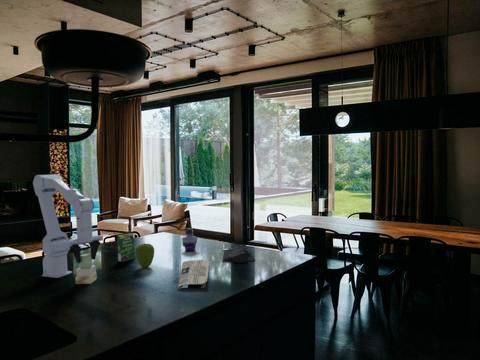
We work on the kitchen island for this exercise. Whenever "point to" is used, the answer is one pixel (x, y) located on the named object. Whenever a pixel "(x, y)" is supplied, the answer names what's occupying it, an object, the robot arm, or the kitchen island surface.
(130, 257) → the coffee box
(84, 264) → the sage cylinder
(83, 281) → the tower base block
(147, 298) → the kitchen island surface
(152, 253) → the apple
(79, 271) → the tower top block
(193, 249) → the potion bottle
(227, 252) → the dark slate chunk
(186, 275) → the newspaper
